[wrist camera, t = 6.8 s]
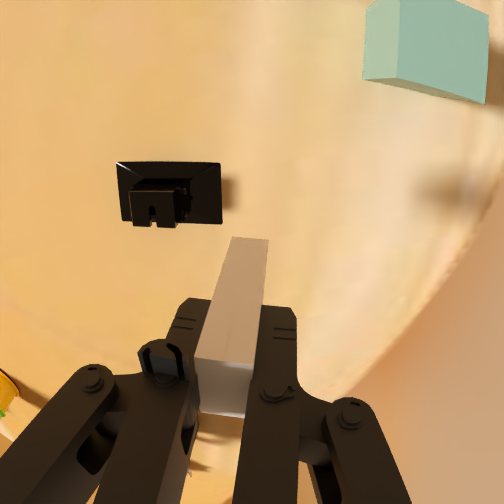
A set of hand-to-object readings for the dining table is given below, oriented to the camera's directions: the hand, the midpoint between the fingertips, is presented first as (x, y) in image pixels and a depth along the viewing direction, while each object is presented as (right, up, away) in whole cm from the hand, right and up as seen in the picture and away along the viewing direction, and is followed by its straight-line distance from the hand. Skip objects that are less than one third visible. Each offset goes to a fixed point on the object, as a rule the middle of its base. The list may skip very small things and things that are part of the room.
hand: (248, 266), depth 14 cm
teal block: (+12, +16, +5) cm, 20 cm away
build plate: (-7, +6, +14) cm, 16 cm away
